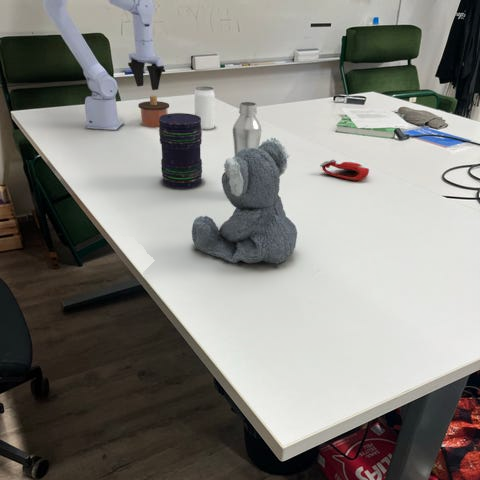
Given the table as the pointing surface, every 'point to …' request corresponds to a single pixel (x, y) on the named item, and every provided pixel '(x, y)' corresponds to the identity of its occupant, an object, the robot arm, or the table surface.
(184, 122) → the storage jar
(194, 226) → the koala plush
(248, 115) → the silver metal bottle
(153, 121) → the cup
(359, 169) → the tracker holder
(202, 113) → the can
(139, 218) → the table surface
